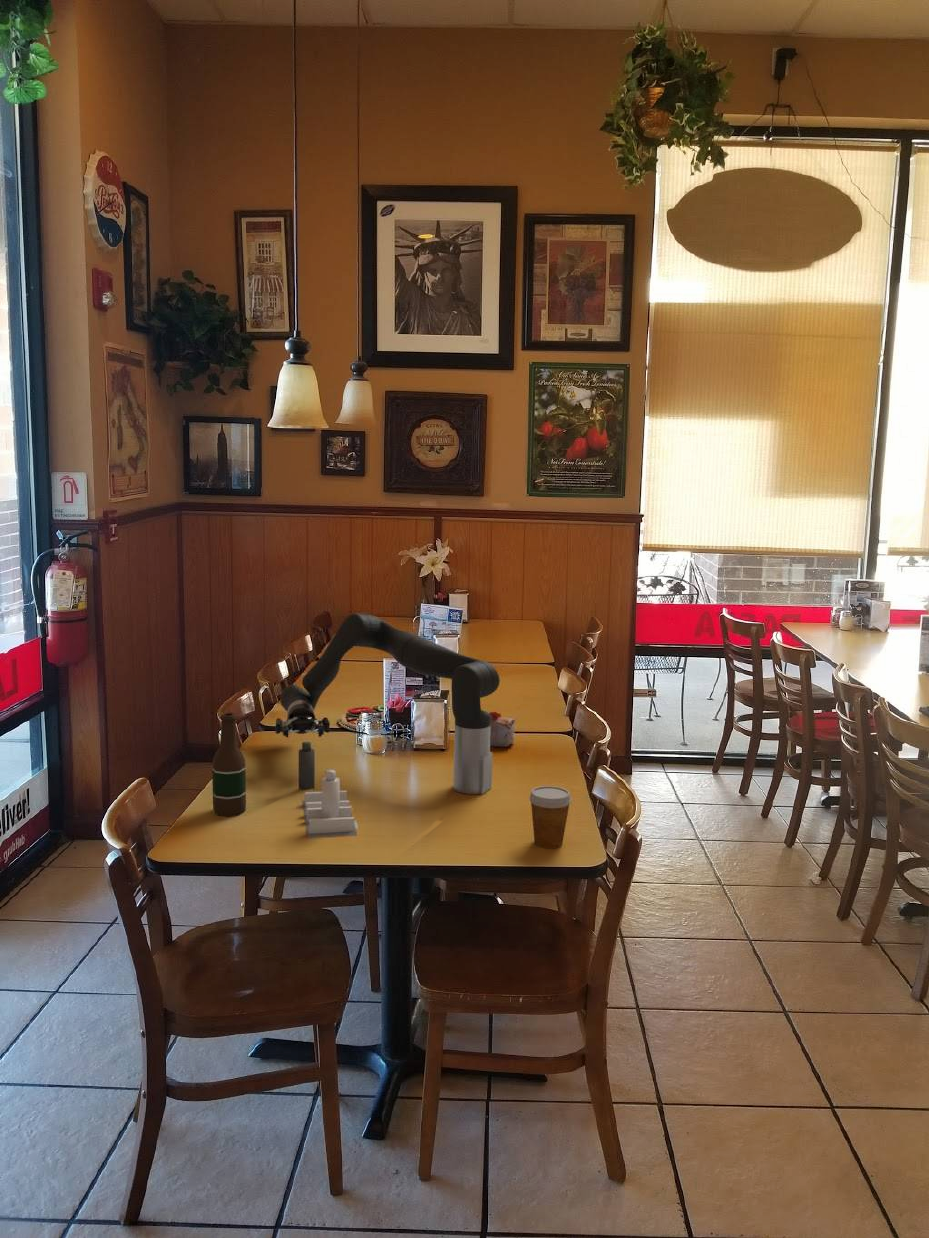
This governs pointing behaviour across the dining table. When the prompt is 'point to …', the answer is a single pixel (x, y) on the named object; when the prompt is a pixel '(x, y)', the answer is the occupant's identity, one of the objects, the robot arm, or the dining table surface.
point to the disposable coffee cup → (549, 815)
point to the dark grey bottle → (306, 766)
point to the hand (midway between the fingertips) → (303, 733)
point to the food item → (501, 730)
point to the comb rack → (328, 825)
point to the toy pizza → (356, 716)
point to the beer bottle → (229, 772)
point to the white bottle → (330, 795)
